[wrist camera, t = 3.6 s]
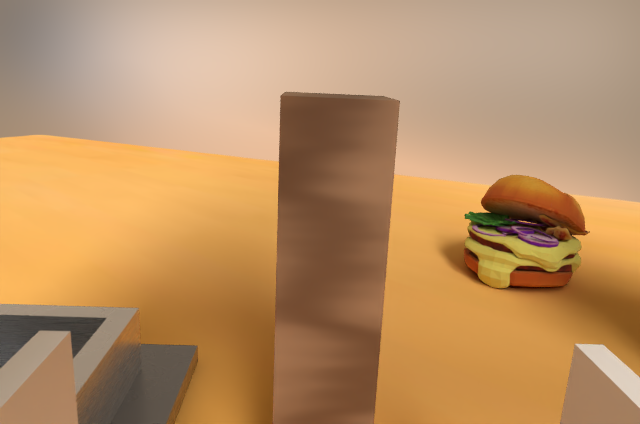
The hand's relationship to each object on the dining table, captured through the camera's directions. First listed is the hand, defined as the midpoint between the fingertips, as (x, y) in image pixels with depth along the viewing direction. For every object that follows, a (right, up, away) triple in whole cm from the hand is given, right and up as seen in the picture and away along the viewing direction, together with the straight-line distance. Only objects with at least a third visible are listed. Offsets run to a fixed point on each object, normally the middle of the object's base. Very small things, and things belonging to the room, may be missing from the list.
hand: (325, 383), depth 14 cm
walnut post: (0, -7, +10) cm, 12 cm away
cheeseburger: (+18, -1, +35) cm, 39 cm away
